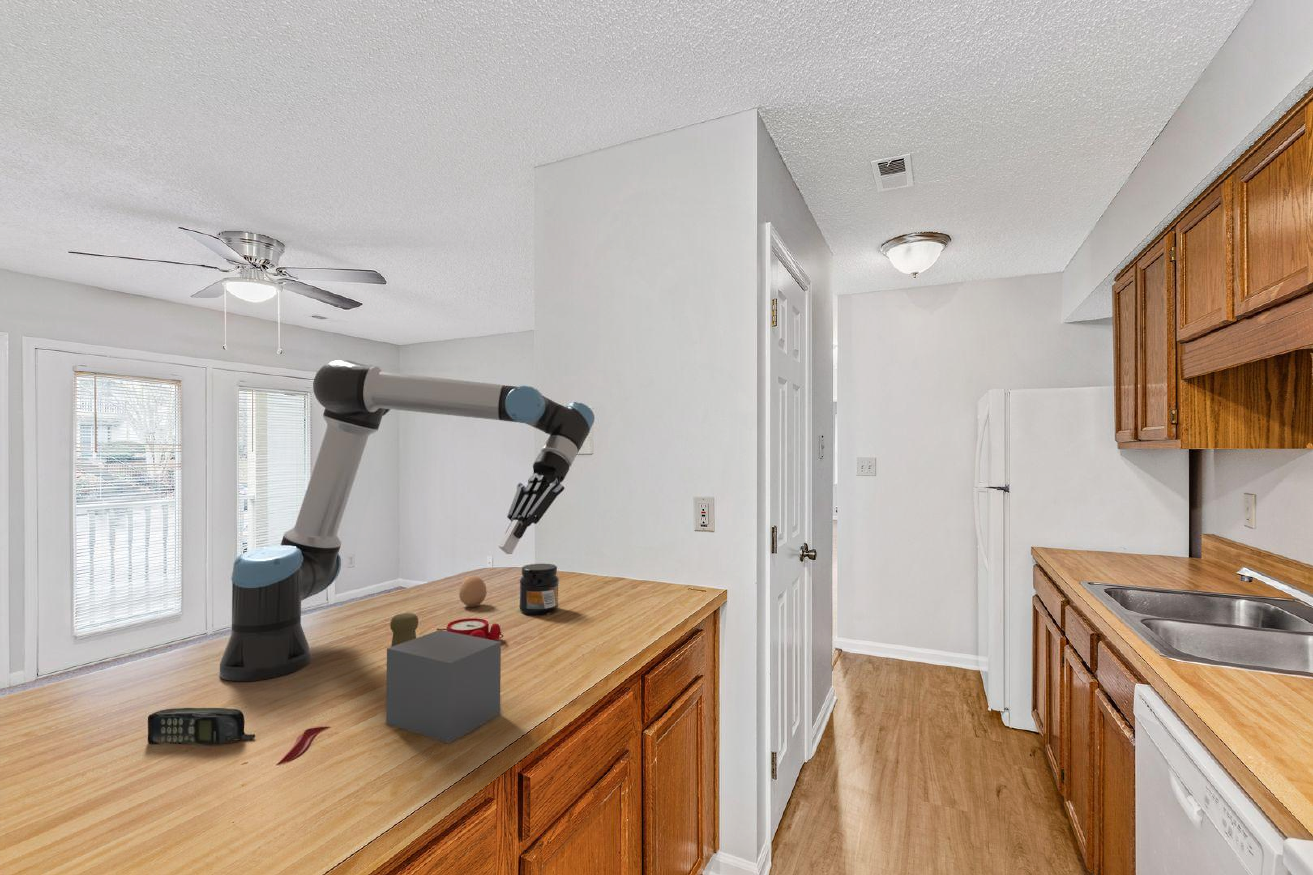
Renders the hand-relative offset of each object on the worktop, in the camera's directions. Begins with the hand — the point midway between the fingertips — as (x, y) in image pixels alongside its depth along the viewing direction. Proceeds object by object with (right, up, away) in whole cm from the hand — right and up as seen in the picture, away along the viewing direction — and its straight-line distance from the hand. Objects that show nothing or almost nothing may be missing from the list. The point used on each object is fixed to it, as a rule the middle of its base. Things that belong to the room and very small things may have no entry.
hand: (504, 550), depth 118 cm
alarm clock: (-11, -25, +16) cm, 31 cm away
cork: (-20, -24, -1) cm, 31 cm away
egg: (-21, -25, +46) cm, 56 cm away
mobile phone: (-38, -23, -30) cm, 54 cm away
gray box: (-4, -23, -22) cm, 32 cm away
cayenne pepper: (-22, -24, -31) cm, 45 cm away
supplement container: (-2, -25, +42) cm, 49 cm away
